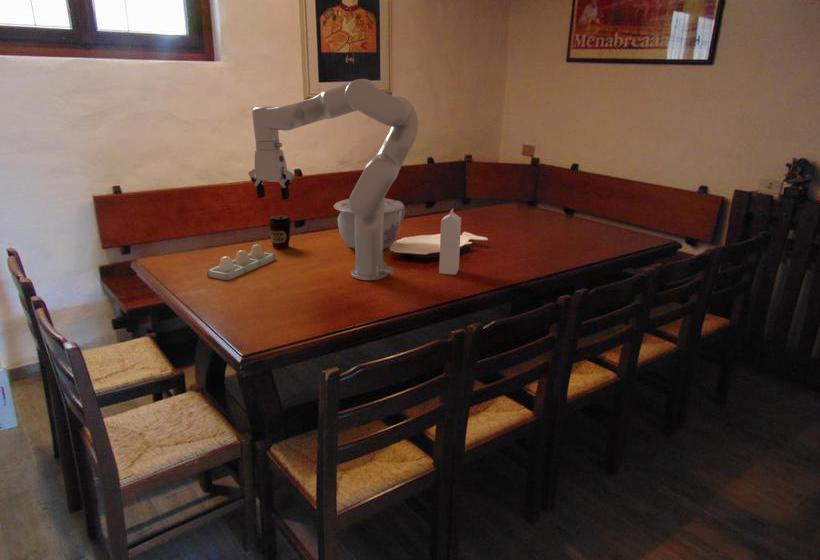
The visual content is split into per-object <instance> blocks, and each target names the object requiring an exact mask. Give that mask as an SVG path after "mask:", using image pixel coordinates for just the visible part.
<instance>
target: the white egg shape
mask: <svg viewBox="0 0 820 560" xmlns="http://www.w3.org/2000/svg"><path fill="white" fill-rule="evenodd" d="M232 260H233V259H232V258H231V257H230V256H227V255H224V256H222V257H221V258H220V260H219V263H218V266H219V270H220V271H221V272H224V273H229V272H231V271H233V269H234V264H233V263H232Z"/></svg>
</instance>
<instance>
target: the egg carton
mask: <svg viewBox="0 0 820 560" xmlns="http://www.w3.org/2000/svg"><path fill="white" fill-rule="evenodd" d="M247 254H248V257H249V260H250V261H249V264H247V265H245V266H239V265H237V264H236V263H235V259H231V260H232V263H233V264H234V269H233V271H231V272H229V273H224V272H221V271H220V270H219V265H217V266H214V267H212V268H210V269H207V270H206V276H207V278H208V277H209V278H214V279H218V280H225V281H230V280H232V279H234V278H237V277H239V276H241V275H244V274H246V273H248V272H250V271H253V270H255V269H257V268H259V267H261V266H264V265H266V264H269V263H270V262H273V261H275V260H276V253H272V252H271V253H270V252H265V251H264V257H263V258H262V259H259V260H257V259H252V258H251V256H250V252H249V253H247Z"/></svg>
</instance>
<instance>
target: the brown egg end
mask: <svg viewBox="0 0 820 560" xmlns="http://www.w3.org/2000/svg"><path fill="white" fill-rule="evenodd" d="M264 252H265V251H264V249H263V247H262V245H260V244H258V243H255V244H254V245H252V246H251V250H250V252H249V253H250V256H251V258H252V259H257V260H259V259H262V258H263V257H264Z"/></svg>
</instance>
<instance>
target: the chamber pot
mask: <svg viewBox="0 0 820 560" xmlns="http://www.w3.org/2000/svg"><path fill="white" fill-rule="evenodd" d="M333 208H334V210H337V211H338V212H339V215H338V216H337V227H338V231H339V234H340V236H341V238H342V240H343V241H344V243H345V244H346V245H347V246H348V247H349V248H352V249H354V250H355V215H354V214H353V213H352V211H351V210H350V207H349V198H347V199H344V200H340V201H337V202H335V203H334V205H333ZM405 213H406V206H405V204H404V203H403V202H402V201H401V200H395V199H392V198H385V205H384V230H383V250H385V249H387V248H389V247H390V245H391V244H392V245H393V244H394V241H395V240H396V239H397V237H398V235H399V232H400V227H401V222H402V221H403V219H404V217H405V215H406V214H405ZM392 245H391V246H392Z"/></svg>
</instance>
